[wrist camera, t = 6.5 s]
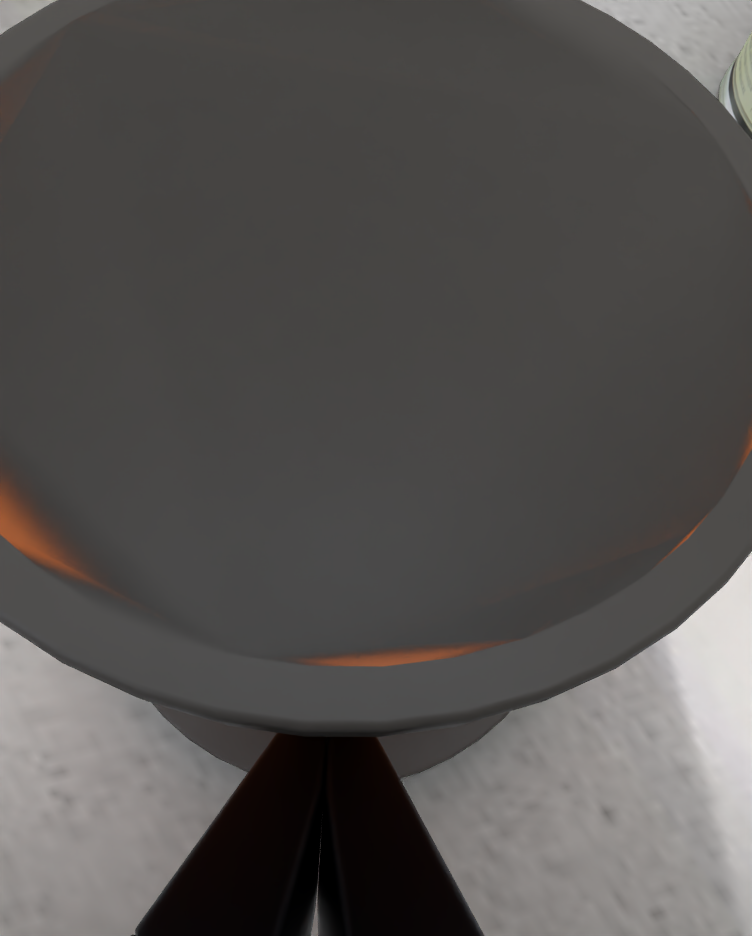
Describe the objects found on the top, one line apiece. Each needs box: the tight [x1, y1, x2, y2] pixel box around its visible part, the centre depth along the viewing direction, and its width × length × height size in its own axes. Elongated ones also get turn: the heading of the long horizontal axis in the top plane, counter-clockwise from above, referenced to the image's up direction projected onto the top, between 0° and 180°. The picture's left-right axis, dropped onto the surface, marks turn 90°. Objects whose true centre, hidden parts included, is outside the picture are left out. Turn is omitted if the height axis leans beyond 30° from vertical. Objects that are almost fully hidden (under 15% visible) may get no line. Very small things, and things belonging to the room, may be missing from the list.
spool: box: [0, 0, 752, 778], centre depth 12 cm, size 11×11×11 cm
